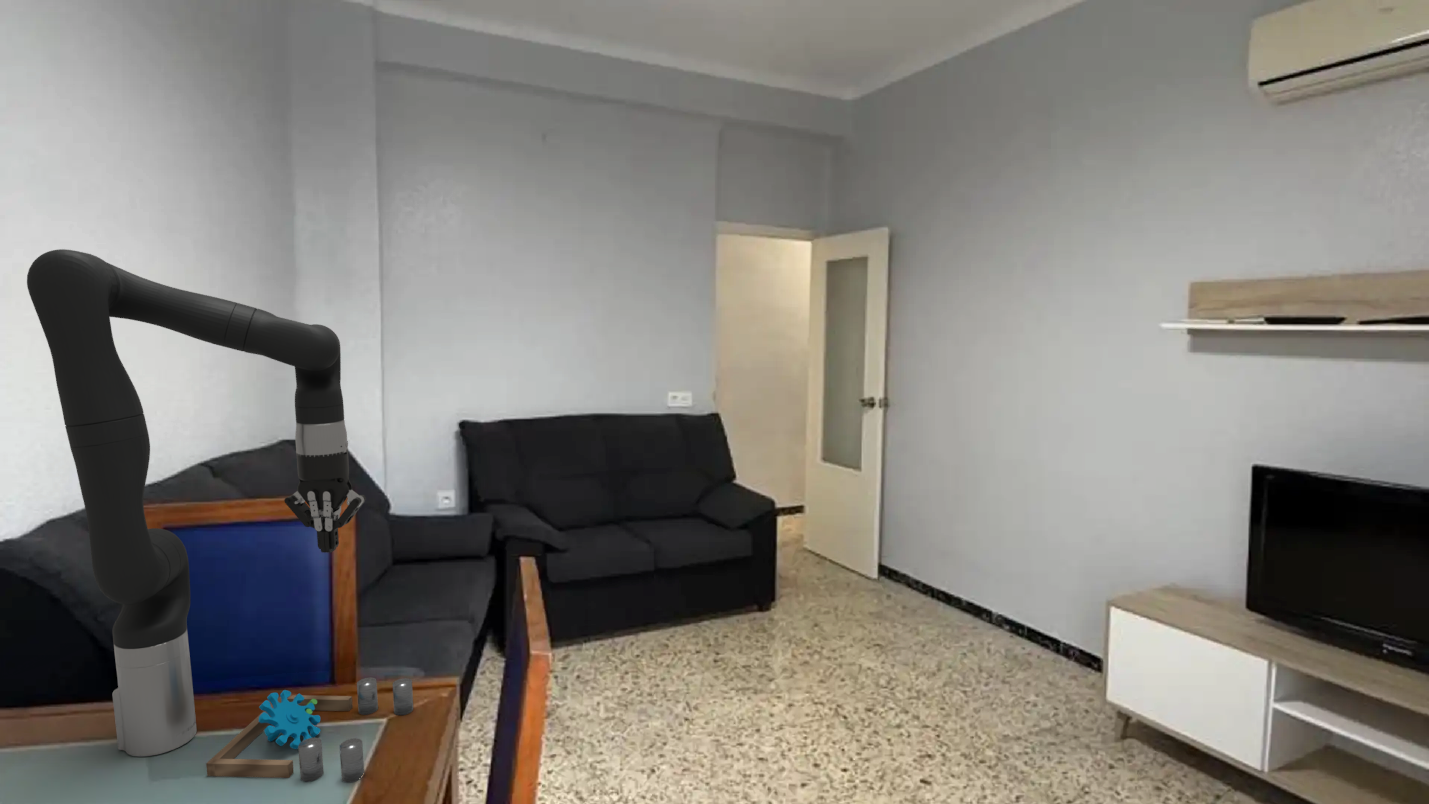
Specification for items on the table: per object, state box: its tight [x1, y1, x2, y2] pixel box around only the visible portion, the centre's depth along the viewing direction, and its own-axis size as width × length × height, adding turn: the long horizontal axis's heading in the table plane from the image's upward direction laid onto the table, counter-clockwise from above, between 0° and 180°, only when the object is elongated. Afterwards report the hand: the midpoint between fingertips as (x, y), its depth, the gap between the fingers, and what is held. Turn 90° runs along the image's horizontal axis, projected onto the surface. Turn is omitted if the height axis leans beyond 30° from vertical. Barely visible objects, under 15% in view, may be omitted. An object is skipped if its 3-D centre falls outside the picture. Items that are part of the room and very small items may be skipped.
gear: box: [258, 689, 321, 750], centre depth 124 cm, size 11×6×10 cm
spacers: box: [297, 677, 414, 783], centre depth 124 cm, size 9×21×5 cm, turn 179°
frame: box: [205, 694, 354, 779], centre depth 124 cm, size 12×19×2 cm, turn 179°
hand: (328, 551), depth 131 cm, fingers closed
